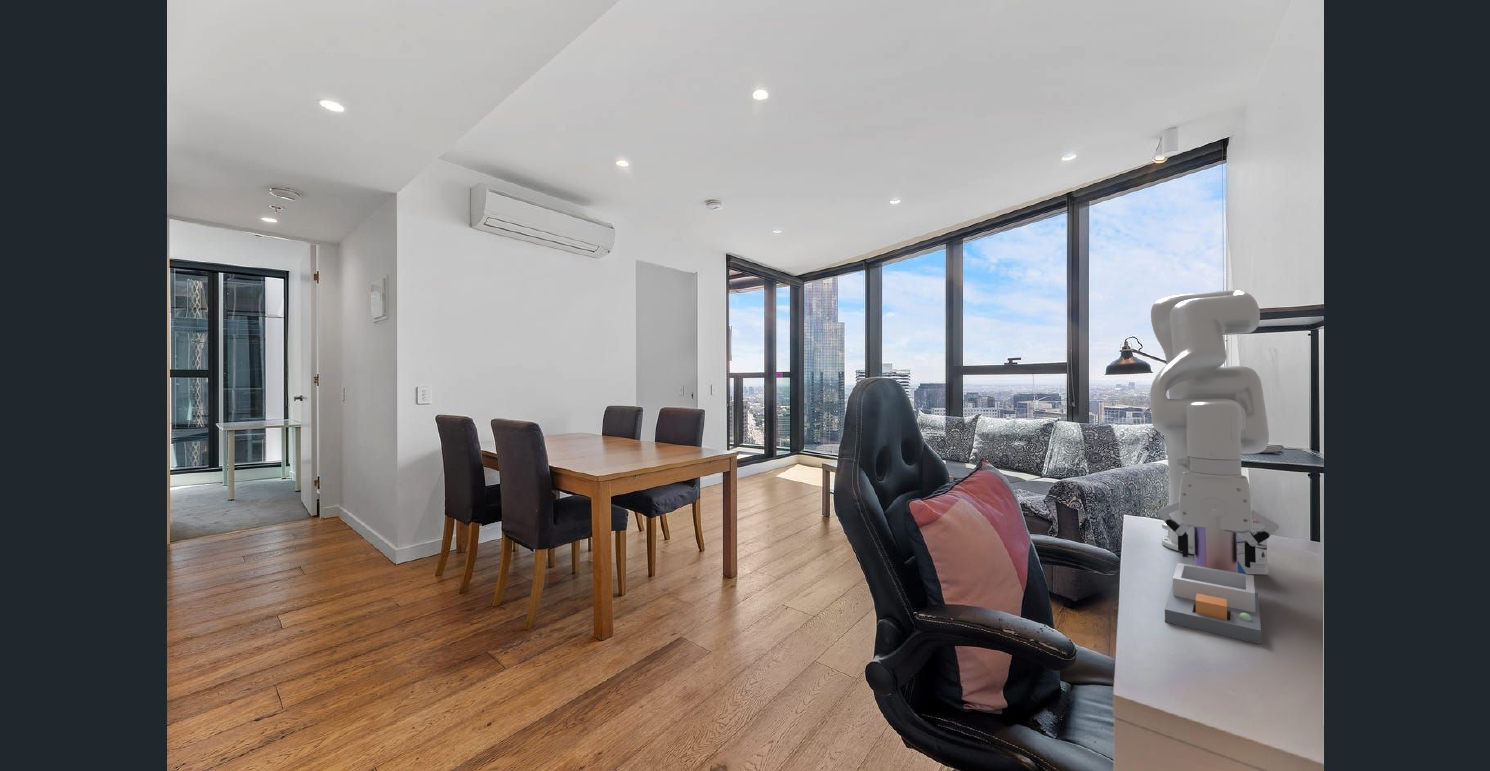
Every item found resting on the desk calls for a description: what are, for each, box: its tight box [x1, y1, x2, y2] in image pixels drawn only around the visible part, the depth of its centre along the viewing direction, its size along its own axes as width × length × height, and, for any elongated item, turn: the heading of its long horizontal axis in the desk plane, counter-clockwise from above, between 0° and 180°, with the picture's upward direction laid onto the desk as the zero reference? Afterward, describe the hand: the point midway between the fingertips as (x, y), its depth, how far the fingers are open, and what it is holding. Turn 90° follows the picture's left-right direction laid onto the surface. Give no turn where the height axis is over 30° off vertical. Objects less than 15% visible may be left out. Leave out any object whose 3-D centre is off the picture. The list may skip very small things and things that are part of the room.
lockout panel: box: [1164, 562, 1262, 645], centre depth 86 cm, size 18×11×5 cm, turn 136°
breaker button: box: [1195, 593, 1227, 620], centre depth 82 cm, size 4×4×3 cm
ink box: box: [1237, 519, 1269, 575], centre depth 104 cm, size 9×5×12 cm, turn 84°
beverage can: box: [1193, 509, 1238, 573], centre depth 97 cm, size 6×6×15 cm
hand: (1215, 560), depth 97 cm, fingers open, 8 cm apart
